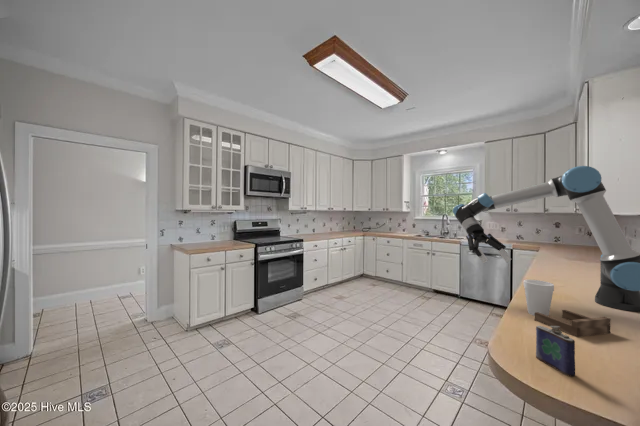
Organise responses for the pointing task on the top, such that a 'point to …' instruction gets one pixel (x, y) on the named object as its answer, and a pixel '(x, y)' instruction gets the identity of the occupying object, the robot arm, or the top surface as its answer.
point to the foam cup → (538, 296)
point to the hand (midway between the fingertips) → (497, 261)
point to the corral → (577, 324)
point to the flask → (556, 349)
